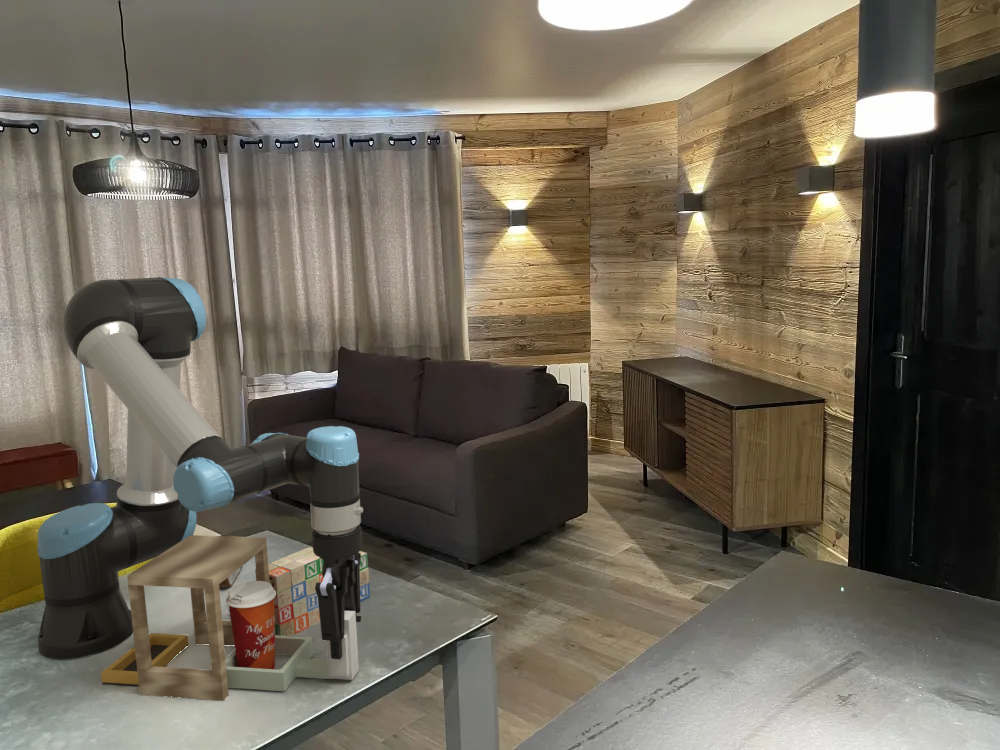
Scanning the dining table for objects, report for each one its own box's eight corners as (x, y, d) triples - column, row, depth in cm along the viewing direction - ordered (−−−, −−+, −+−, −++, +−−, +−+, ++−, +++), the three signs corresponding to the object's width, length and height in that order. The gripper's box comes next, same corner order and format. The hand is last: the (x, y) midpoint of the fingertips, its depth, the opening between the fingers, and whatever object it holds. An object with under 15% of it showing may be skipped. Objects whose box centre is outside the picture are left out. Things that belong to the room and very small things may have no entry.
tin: (232, 566, 165) (229, 529, 164) (247, 565, 166) (244, 528, 164) (214, 595, 150) (211, 555, 149) (230, 594, 151) (227, 554, 149)
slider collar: (217, 686, 116) (212, 625, 115) (252, 650, 127) (247, 594, 126) (342, 695, 113) (338, 632, 111) (367, 657, 124) (363, 599, 122)
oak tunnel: (139, 694, 115) (127, 575, 112) (200, 640, 132) (190, 535, 129) (223, 700, 113) (212, 579, 110) (274, 644, 129) (266, 537, 127)
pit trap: (102, 684, 118) (100, 672, 118) (152, 643, 131) (151, 633, 131) (142, 687, 117) (140, 675, 117) (188, 645, 130) (187, 635, 130)
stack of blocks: (349, 590, 151) (346, 532, 149) (370, 597, 147) (367, 538, 146) (259, 632, 134) (254, 567, 133) (280, 642, 131) (275, 575, 129)
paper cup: (258, 687, 116) (251, 603, 114) (221, 677, 119) (214, 595, 117) (292, 663, 123) (286, 583, 121) (256, 654, 126) (250, 576, 124)
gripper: (340, 547, 106) (348, 699, 110) (376, 510, 122) (382, 644, 126) (291, 545, 108) (300, 695, 111) (333, 509, 123) (340, 641, 127)
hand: (344, 668), depth 118 cm, fingers closed on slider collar, 3 cm apart
